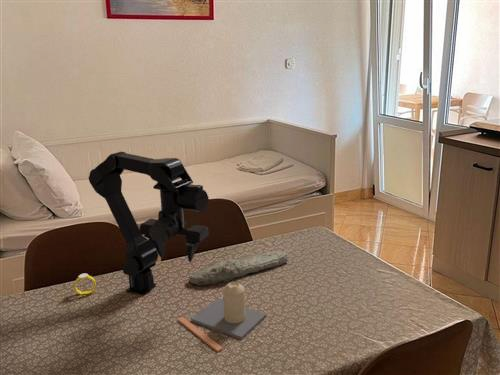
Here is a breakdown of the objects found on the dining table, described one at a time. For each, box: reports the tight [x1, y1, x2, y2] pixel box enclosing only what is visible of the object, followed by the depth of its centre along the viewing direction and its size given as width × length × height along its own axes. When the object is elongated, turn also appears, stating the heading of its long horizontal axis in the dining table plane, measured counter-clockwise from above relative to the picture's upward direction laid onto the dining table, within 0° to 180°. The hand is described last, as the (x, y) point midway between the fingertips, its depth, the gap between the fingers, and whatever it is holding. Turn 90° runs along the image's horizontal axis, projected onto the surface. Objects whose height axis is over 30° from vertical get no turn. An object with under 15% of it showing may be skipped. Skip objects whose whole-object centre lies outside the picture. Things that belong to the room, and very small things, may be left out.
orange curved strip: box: [177, 316, 224, 353], centre depth 120 cm, size 18×2×1 cm, turn 40°
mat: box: [190, 298, 267, 340], centre depth 127 cm, size 16×12×1 cm
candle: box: [222, 281, 246, 324], centre depth 124 cm, size 6×6×10 cm
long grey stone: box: [189, 250, 289, 286], centre depth 153 cm, size 35×5×10 cm
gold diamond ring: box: [73, 272, 97, 296], centre depth 141 cm, size 6×3×6 cm, turn 105°
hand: (175, 258), depth 133 cm, fingers open, 9 cm apart
